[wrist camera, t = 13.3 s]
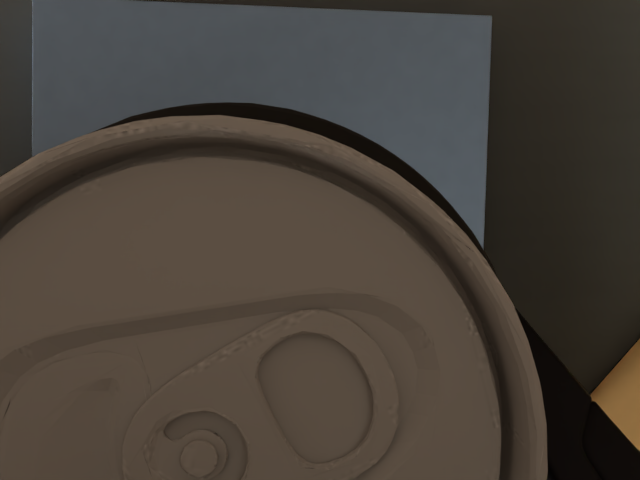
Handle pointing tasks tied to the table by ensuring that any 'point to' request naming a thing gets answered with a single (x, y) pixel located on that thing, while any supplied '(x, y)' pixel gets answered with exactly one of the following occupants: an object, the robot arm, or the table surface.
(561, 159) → the table surface
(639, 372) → the wooden rectangular frame
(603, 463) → the robot arm
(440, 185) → the mat
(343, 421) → the beverage can
